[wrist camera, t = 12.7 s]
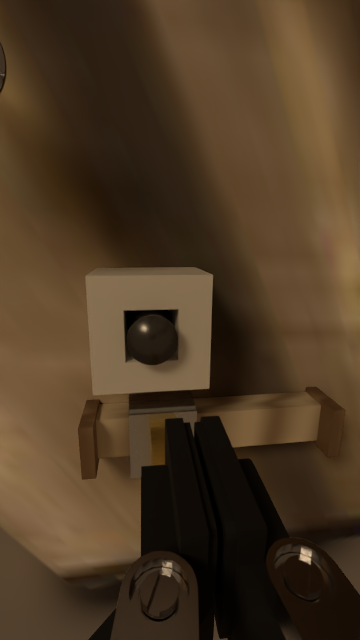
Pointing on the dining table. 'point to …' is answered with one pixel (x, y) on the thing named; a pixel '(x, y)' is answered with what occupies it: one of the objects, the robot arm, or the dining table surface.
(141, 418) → the carriage
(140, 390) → the housing
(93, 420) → the rail
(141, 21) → the dining table surface
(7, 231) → the dining table surface
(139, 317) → the plunger
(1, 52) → the wine glass
